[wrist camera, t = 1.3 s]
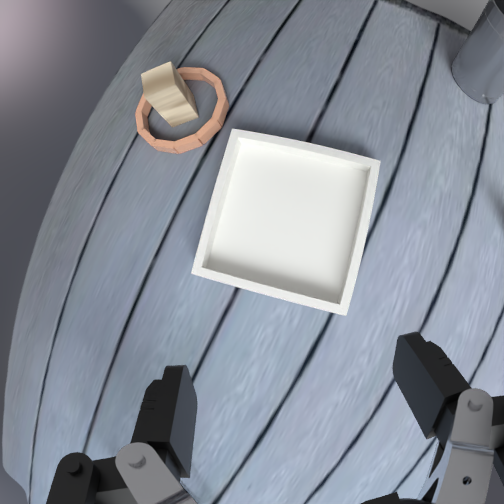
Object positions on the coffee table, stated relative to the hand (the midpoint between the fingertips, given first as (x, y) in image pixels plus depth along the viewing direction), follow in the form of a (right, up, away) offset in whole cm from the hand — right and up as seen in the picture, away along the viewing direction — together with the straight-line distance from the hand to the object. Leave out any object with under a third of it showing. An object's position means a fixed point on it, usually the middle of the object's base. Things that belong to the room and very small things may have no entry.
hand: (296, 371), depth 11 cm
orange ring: (-11, +24, +30) cm, 40 cm away
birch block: (-11, +24, +30) cm, 40 cm away
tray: (+3, +8, +27) cm, 28 cm away
